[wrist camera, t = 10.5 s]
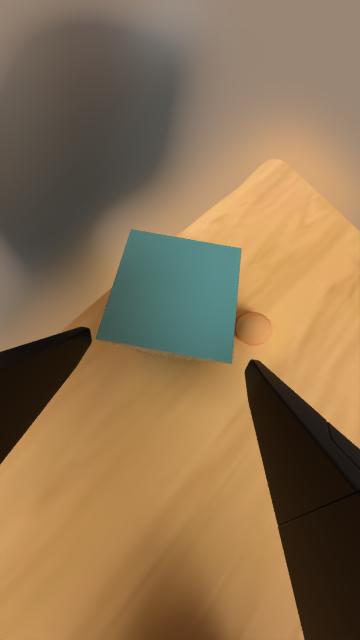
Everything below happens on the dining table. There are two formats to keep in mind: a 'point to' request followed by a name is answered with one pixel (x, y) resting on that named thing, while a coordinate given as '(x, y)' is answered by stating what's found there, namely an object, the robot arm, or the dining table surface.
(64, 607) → the dining table surface
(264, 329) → the orange small ball
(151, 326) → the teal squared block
